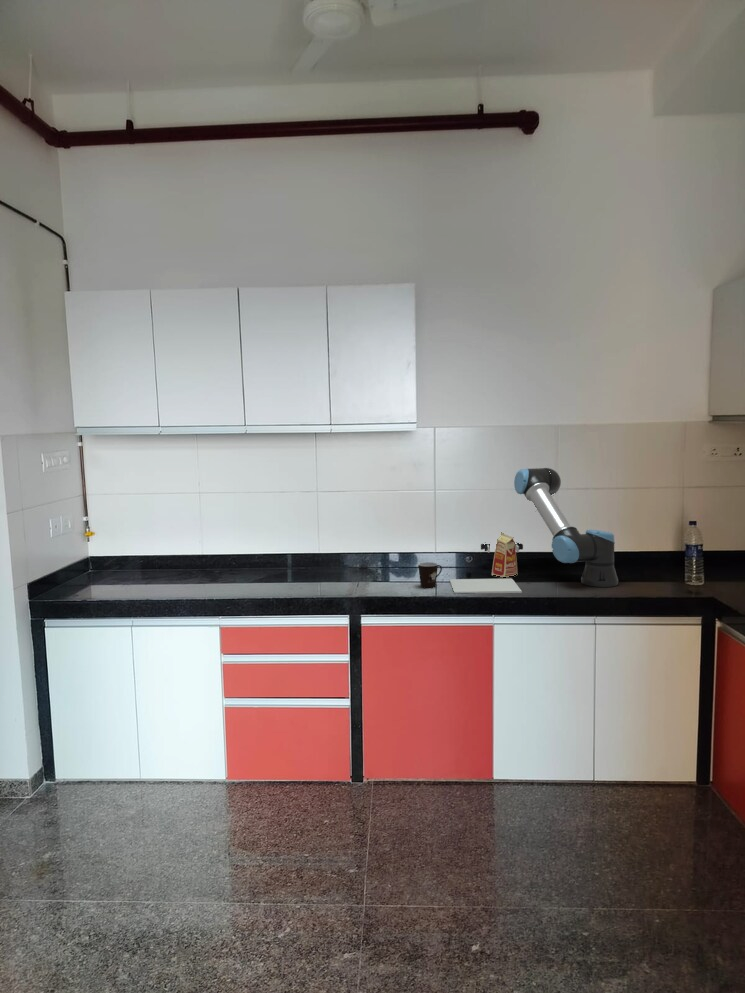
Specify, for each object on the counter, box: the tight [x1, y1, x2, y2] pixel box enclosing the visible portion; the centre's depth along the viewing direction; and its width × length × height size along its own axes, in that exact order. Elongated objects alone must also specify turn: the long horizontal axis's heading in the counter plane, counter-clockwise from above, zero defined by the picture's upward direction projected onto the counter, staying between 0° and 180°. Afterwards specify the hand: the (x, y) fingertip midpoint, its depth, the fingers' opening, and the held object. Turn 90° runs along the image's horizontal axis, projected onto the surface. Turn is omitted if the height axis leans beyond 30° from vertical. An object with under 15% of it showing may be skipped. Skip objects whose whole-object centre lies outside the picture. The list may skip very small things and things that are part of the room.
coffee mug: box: [417, 561, 443, 589], centre depth 281 cm, size 12×9×10 cm
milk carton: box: [491, 532, 518, 578], centre depth 299 cm, size 9×9×20 cm
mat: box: [449, 578, 523, 594], centre depth 279 cm, size 28×23×1 cm
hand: (503, 549), depth 306 cm, fingers open, 13 cm apart
